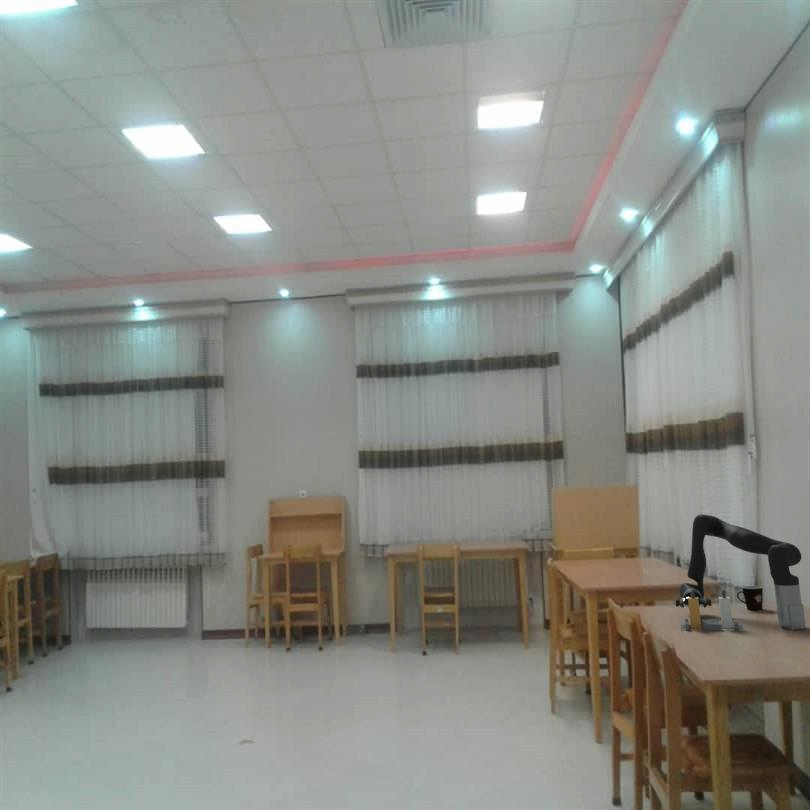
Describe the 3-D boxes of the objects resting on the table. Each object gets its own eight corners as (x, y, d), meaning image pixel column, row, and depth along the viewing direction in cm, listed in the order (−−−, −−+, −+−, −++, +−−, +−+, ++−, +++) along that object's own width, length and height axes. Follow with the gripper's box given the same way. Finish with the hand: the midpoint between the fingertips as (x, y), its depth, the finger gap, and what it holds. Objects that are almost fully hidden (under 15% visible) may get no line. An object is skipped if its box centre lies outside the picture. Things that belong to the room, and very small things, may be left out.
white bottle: (732, 626, 309) (728, 589, 311) (733, 628, 306) (728, 591, 307) (721, 626, 311) (717, 589, 312) (722, 628, 307) (718, 591, 308)
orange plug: (701, 626, 313) (697, 590, 315) (701, 628, 310) (697, 591, 311) (690, 626, 315) (687, 590, 316) (691, 628, 311) (687, 591, 312)
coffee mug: (762, 607, 348) (760, 585, 349) (767, 611, 340) (764, 588, 341) (735, 608, 351) (733, 586, 352) (739, 611, 343) (736, 589, 344)
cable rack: (742, 627, 312) (741, 618, 312) (745, 633, 301) (744, 624, 301) (680, 627, 320) (680, 618, 320) (681, 633, 308) (680, 624, 309)
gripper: (674, 590, 333) (674, 596, 318) (709, 589, 329) (710, 595, 314) (676, 607, 333) (676, 614, 317) (711, 606, 328) (712, 614, 313)
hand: (693, 605), depth 316 cm, fingers open, 8 cm apart
